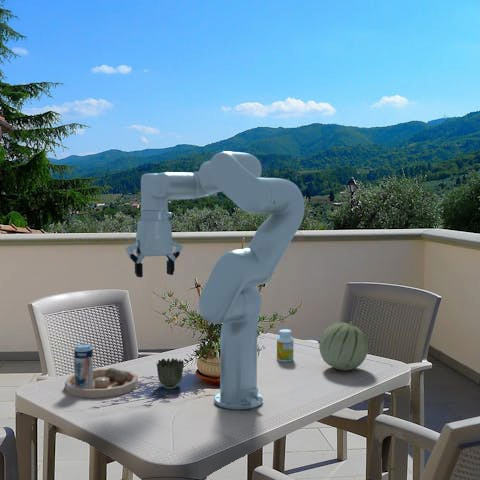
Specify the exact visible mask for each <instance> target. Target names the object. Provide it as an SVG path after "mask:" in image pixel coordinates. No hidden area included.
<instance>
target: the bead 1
mask: <svg viewBox="0 0 480 480" xmlns="http://www.w3.org/2000/svg"><path fill="white" fill-rule="evenodd" d="M107 369H108V370H107V371H106V372H105V377H108V378H109V381H113V380H115V379H114V376H115V374H116V373H117V370H116V369H117V368H115V367H109V368H107Z"/></svg>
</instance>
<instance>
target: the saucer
mask: <svg viewBox="0 0 480 480" xmlns="http://www.w3.org/2000/svg"><path fill="white" fill-rule="evenodd" d="M108 369H109V368H100V369H99V368H97V369H93V388H92V389H84V388H79V387H75V374H72V375H70V376H68V378H67V379H65V381H64V390H65V391H66V392H67V393H68V394H69V395H70V396H73V397H74V396H75V397H79V398H85V399H87V398H88V399H96V398H97V399H100V398H103V399H105V398H110V397H116V396H121V395H125V394H128V393H129V392H131V391H133V390H136V387H137V386H138V383H139V381H138V380H139V379H138V377H139V376H138V375H137V374H135V373H133V371H130V370H125V369H120V368H119V369H118V368H115V369H116V370H117V372H119V371H124V372H125V373H126V374H127V381H126V382H125V383H124V384H118V383H116V382H115V380H113V381H109V378H108V377H105V372H106V371H107V370H108Z"/></svg>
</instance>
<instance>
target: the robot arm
mask: <svg viewBox="0 0 480 480" xmlns="http://www.w3.org/2000/svg"><path fill="white" fill-rule="evenodd" d="M262 172H263V171H262V164H261V162H260V160H259V159H258V158H257V157H256V156H255V155H253V154H250V153H247V152H240V151H221V152H218V153H216V154H214V155H213V156H212V157H211V159H210V160H208V161H207V160H206V161H205V162H203V163H202V164H201V165H200V167H199V170H198V171H193V172H178V171H177V172H176V171H175V172H173V171H170V172H169V171H166V172H165V171H164V172H159V173H158V172H157V173H156V172H155V173H144V174H142V176H141V177H140V196H141V197H140V202H141V203H140V204H141V205H140V206H141V208H140V210H141V211H140V216H141V217H140V219H141V221H138V222H137V227H136V233H135V234H136V235H135V242H134V243H132V244H130V245H129V246H127V247H126V248H125V251H126V253H127V255H128V257H129V259H130V260H132V262H133V263H134V274H135V276H136V277H138V278H143V274H144V273H143V271H144V270H143V269H144V268H143V263H142V261H143V260H144V258H145V257H162V256H163V257H164V256H165V257H166V259H167V260H166V274H167V275H169V276H173V275H174V272H175V262H176V261H177V259H178V257H179V256H180V254H181V252H182V250H183V247H184V246H183V245H181V244H180V243H178V242H176V241H174V240H173V233H172V232H173V231H172V226H171V221H169V218H172V216H173V214H172V212H169V210H168V208H169V207H168V200H193V199H194V200H195V199H198V198H204V197H209V196H212V195H214V194H216V193H221V192H222V193H223V194H224V195H225V196H226V197H227V198H228V199H229V200H230V201H232V203H234V204H235V205H236V206H237V207H238V208H240V209H241V210H242V211H243V212H246V213H248V214H253V215H263V214H267V215H269V216H268V217H267V218H266V219H265V221H263V222H262V223H261V224H260V225H259V227H258V228H257V229H256V231H255V233H254V235H253V238H252V239H251V241H250V242H249V244H248V246H246V247H244V248H240V249H238V248H237V249H233V250H229V251H228V252H226V253H223V255H221V256H220V257H219V258H218V260H217V261H216V263H215V265H214V267H213V270H211V273H210V275H209V277H208V278H207V281H206V283H205V284H204V287H203V289H202V290H201V293H200V296H199V299H198V310H199V313H200V315H201V317H202V319H203V320H205V321H206V322H207V323H209V324H214V325H217V324H218V325H219V324H222V326H221V330H220V339H219V343H220V345H219V347H220V350H219V351H220V352H219V353H220V355H219V356H220V357H219V359H220V362H219V364H220V367H219V369H220V371H219V372H220V375H219V377H220V381H219V382H220V384H219V387H220V388H219V389H220V390H219V391H220V392H218V393H217V394H216V395H214V398H213V399H214V404H215V405H216V406H218V407H220V408H223V409H228V410H237V411H239V410H240V411H241V410H243V411H244V410H249V409H254V408H257V407H259V406H260V405H262V404H263V400H264V399H263V396H262V395H261V393H259V388H258V382H257V380H258V378H257V377H258V375H257V374H258V366H257V365H258V327H259V326H258V325H259V318H260V312H261V307H262V296H261V292H260V290H259V288H258V286H261V285H263V284H264V285H265V284H266V283H268V281H270V280H271V278H272V276H273V274H274V273H275V271H276V269H277V267H278V265H279V263H280V261H281V260H282V258H283V256H284V255H285V253H286V250H287V249H288V247H289V245H290V243H291V242H292V240H293V239H294V236H295V235H296V233H297V232H298V230H299V228H300V226H301V224H302V222H303V219H304V216H305V200H304V196H303V194H302V192H301V189H300V188H299V187H298V185H297V184H296V183H294V182H292V180H291V181H290V180H288V179H284V178H277V177H276V178H275V177H261V175H262ZM174 248H175V251H174ZM134 250H135V254H136V255H135V254H134V252H133V251H134ZM173 251H174V252H173Z"/></svg>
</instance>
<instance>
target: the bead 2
mask: <svg viewBox="0 0 480 480" xmlns="http://www.w3.org/2000/svg"><path fill="white" fill-rule="evenodd" d="M114 379H115V382H116V383H118V384H124V383H125V382H126V381H127V374H126V373H125V372H124V371H119V372H117V373H116V374H115V376H114Z"/></svg>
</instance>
